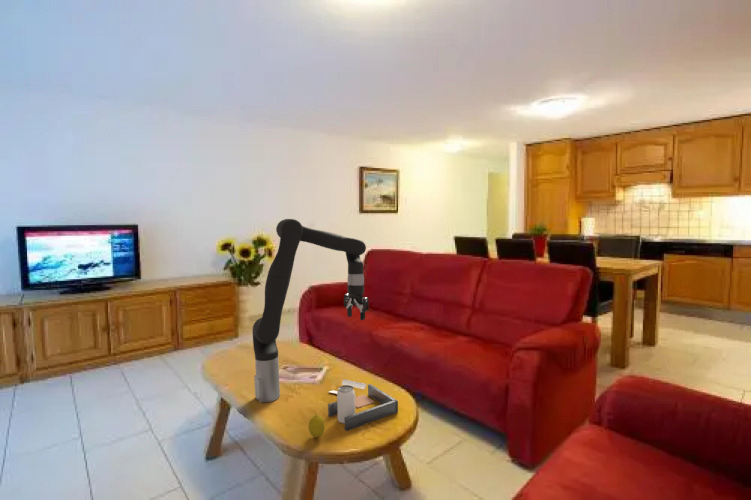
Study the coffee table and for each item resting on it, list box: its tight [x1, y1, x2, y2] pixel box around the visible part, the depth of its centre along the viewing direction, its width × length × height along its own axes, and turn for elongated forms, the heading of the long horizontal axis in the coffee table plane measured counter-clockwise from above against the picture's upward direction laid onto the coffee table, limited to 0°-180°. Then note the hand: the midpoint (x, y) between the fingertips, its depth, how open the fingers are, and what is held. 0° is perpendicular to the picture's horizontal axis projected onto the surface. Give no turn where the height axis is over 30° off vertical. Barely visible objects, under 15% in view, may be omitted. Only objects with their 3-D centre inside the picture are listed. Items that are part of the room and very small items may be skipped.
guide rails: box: [327, 383, 399, 432], centre depth 154 cm, size 23×19×4 cm
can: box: [336, 385, 356, 425], centre depth 147 cm, size 6×6×12 cm
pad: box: [355, 394, 376, 409], centre depth 162 cm, size 8×8×1 cm
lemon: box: [307, 414, 326, 438], centre depth 137 cm, size 6×6×8 cm
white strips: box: [328, 378, 367, 397], centre depth 173 cm, size 12×12×2 cm
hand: (356, 318), depth 184 cm, fingers open, 8 cm apart
